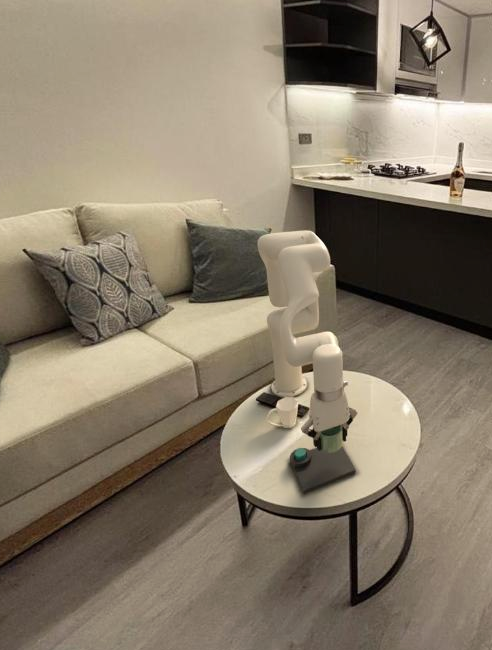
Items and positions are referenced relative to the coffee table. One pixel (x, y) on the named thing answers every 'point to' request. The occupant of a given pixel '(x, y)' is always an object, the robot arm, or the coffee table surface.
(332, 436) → the green handleless cup
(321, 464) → the scale
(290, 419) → the cup
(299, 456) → the tare button
